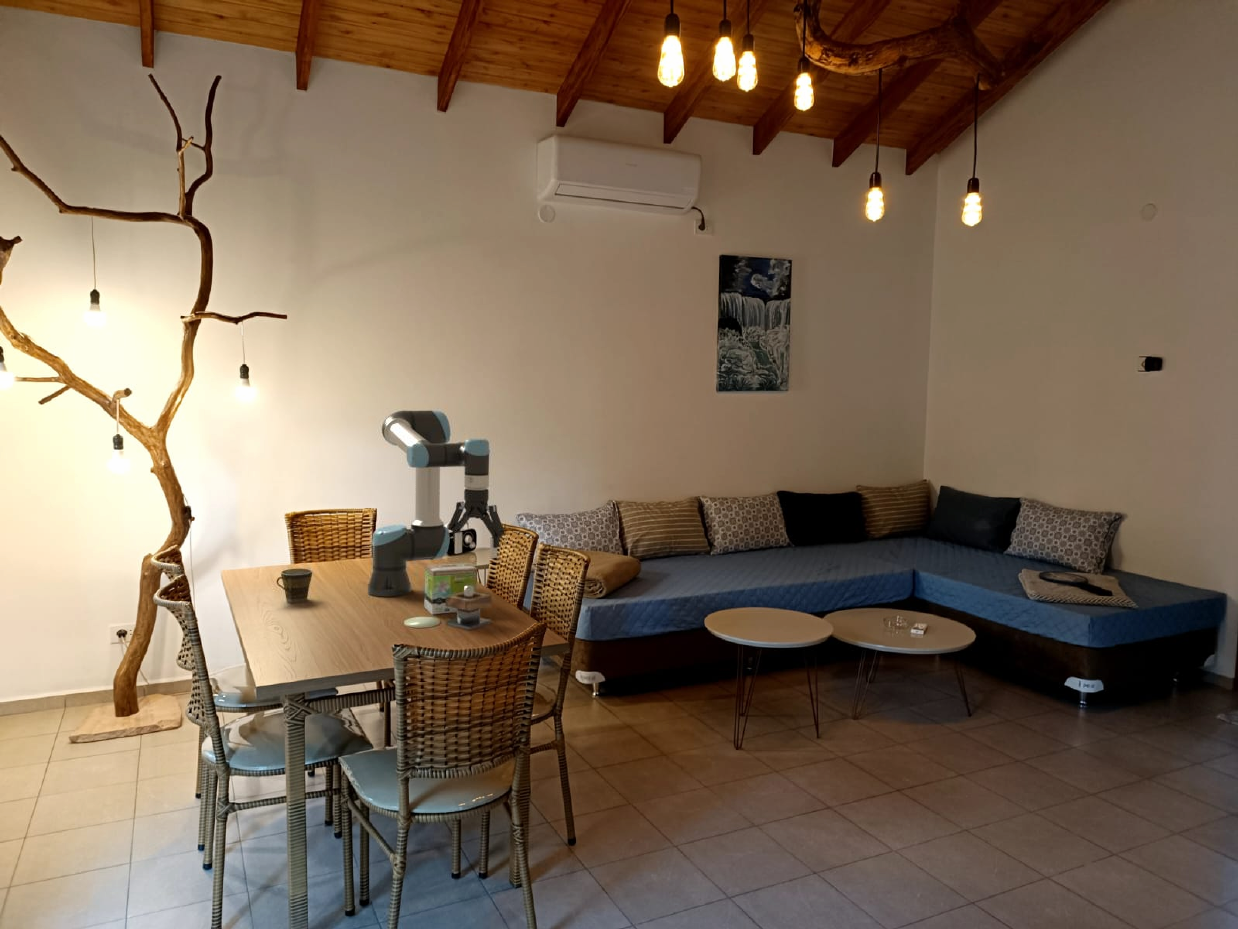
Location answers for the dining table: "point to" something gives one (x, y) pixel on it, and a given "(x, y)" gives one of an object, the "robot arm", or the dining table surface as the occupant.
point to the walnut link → (468, 601)
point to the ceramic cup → (296, 584)
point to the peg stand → (468, 615)
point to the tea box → (446, 584)
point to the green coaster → (422, 622)
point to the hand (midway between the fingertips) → (475, 555)
